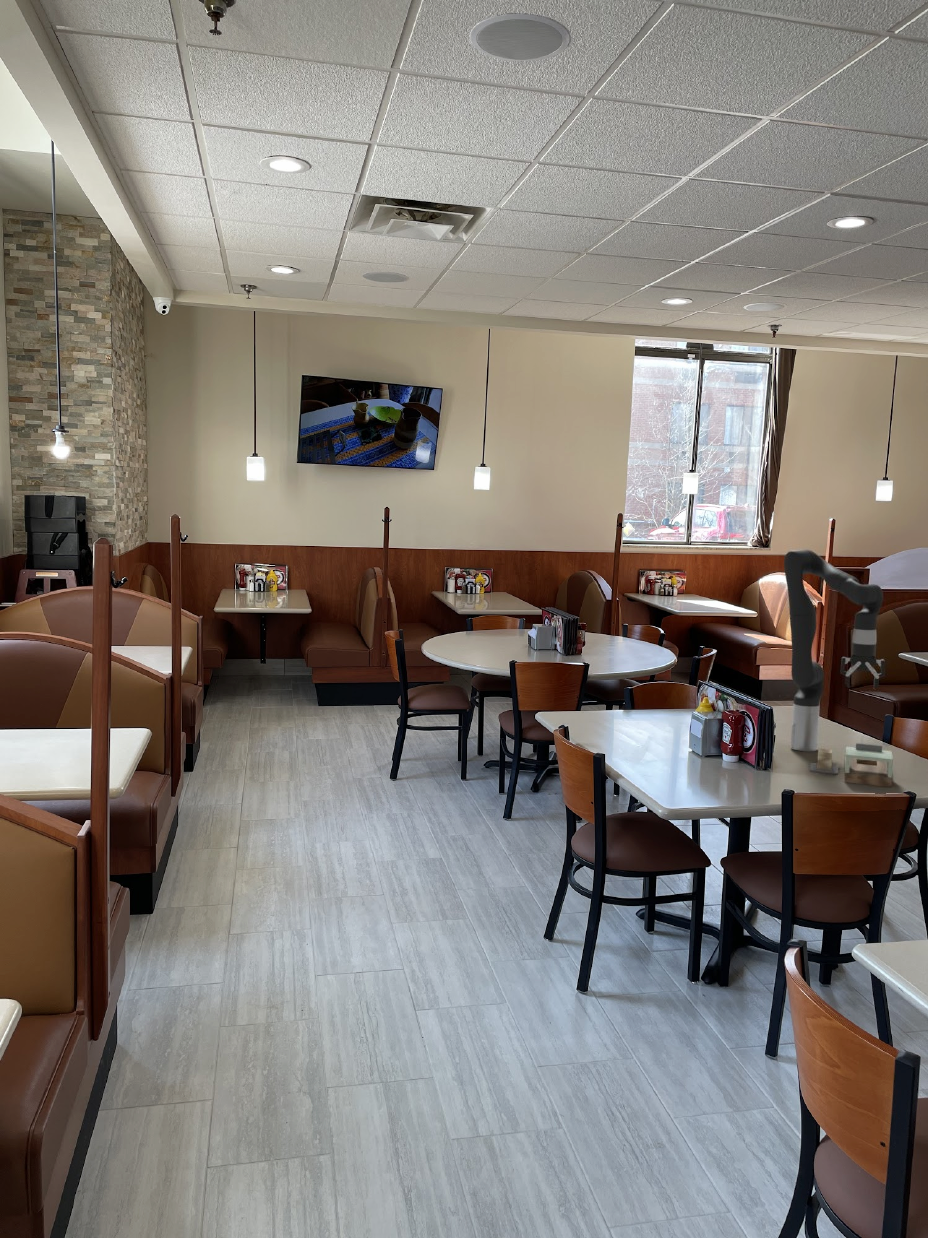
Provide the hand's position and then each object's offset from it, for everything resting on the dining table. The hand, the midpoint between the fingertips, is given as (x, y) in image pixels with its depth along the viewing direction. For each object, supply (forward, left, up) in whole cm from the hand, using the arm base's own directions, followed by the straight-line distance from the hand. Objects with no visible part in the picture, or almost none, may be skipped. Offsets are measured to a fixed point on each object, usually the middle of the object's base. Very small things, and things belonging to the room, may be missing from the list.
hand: (861, 687), depth 314 cm
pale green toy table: (+3, -17, -25) cm, 30 cm away
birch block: (-10, -9, -28) cm, 31 cm away
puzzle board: (+3, -10, -28) cm, 30 cm away
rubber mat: (-10, -9, -28) cm, 31 cm away
